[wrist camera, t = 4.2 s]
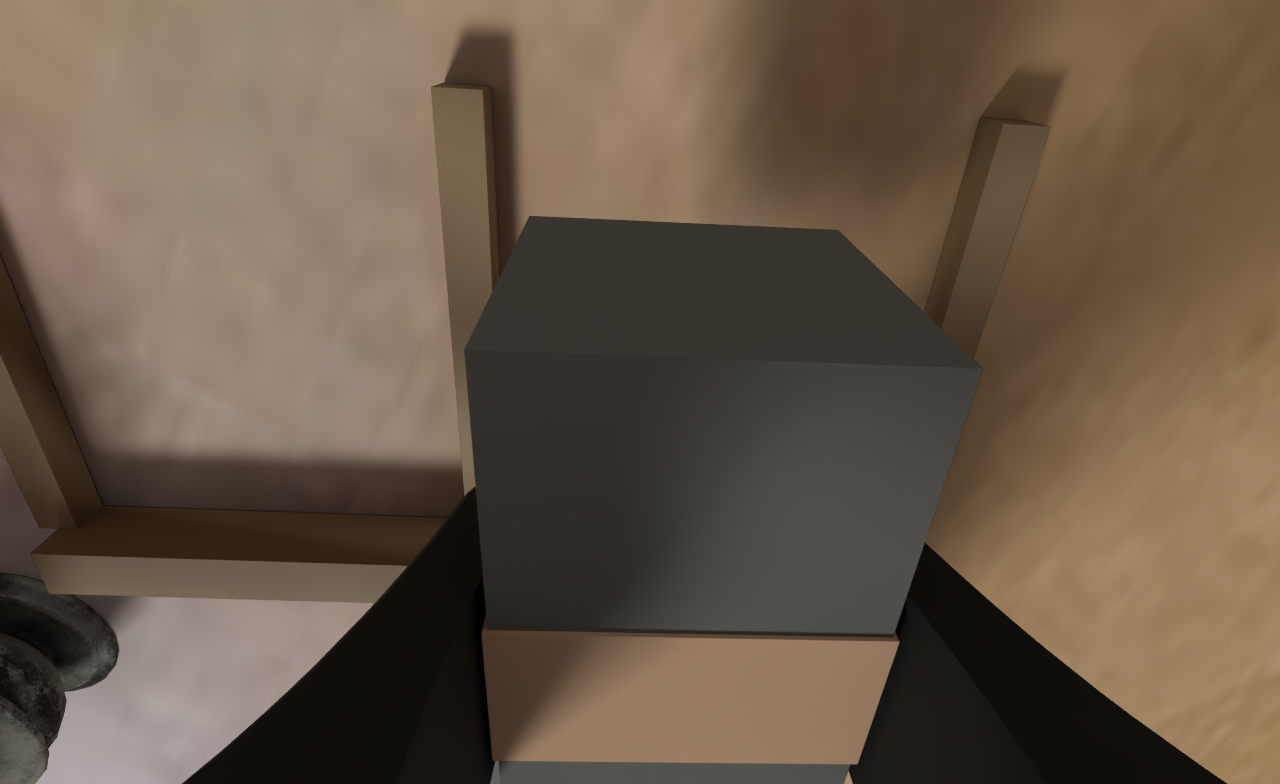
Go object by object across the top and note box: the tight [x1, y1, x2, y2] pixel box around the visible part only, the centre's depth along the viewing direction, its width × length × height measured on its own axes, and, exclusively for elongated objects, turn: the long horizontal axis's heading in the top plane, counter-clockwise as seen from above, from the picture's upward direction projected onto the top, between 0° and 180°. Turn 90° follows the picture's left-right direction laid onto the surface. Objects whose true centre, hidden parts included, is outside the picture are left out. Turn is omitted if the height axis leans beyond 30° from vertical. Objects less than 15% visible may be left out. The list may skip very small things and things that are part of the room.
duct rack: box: [0, 83, 1051, 603], centre depth 15 cm, size 13×24×5 cm, turn 86°
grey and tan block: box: [464, 216, 983, 784], centre depth 9 cm, size 8×4×4 cm, turn 177°
